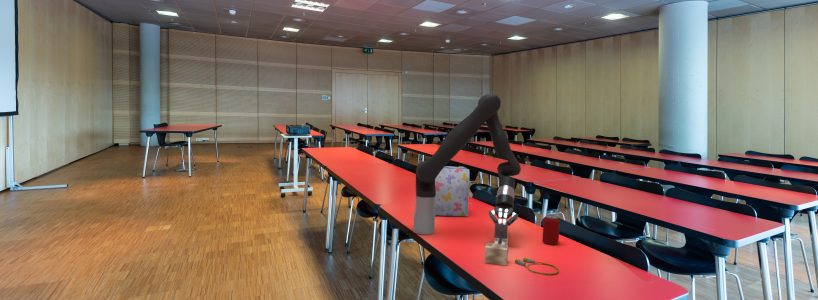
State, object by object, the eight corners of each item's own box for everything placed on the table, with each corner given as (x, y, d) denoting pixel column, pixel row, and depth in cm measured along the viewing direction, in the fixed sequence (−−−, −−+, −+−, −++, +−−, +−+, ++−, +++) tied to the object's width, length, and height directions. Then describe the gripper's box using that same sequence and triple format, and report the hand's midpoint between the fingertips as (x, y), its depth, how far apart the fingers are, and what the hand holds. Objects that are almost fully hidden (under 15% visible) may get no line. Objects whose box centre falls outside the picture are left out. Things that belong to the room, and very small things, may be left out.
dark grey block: (489, 258, 166) (490, 232, 165) (494, 245, 183) (496, 221, 182) (502, 260, 164) (504, 234, 163) (506, 246, 182) (508, 222, 181)
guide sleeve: (492, 253, 175) (493, 243, 174) (497, 242, 190) (497, 233, 189) (504, 254, 173) (504, 245, 173) (507, 243, 188) (508, 234, 188)
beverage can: (559, 242, 192) (560, 215, 191) (557, 246, 186) (559, 219, 185) (543, 239, 195) (545, 213, 194) (541, 244, 189) (542, 217, 188)
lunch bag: (464, 210, 248) (466, 164, 246) (470, 217, 231) (472, 168, 229) (425, 209, 247) (427, 163, 244) (428, 217, 230) (430, 167, 228)
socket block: (484, 262, 164) (485, 247, 163) (486, 257, 169) (487, 242, 169) (506, 265, 161) (506, 249, 161) (507, 260, 167) (508, 245, 166)
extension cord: (539, 260, 170) (539, 255, 170) (566, 274, 155) (566, 269, 155) (512, 262, 166) (512, 257, 166) (537, 278, 151) (537, 272, 151)
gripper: (489, 192, 190) (484, 226, 179) (520, 194, 186) (517, 230, 176) (490, 201, 195) (485, 235, 185) (520, 204, 192) (517, 239, 181)
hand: (501, 232), depth 180 cm, fingers closed
